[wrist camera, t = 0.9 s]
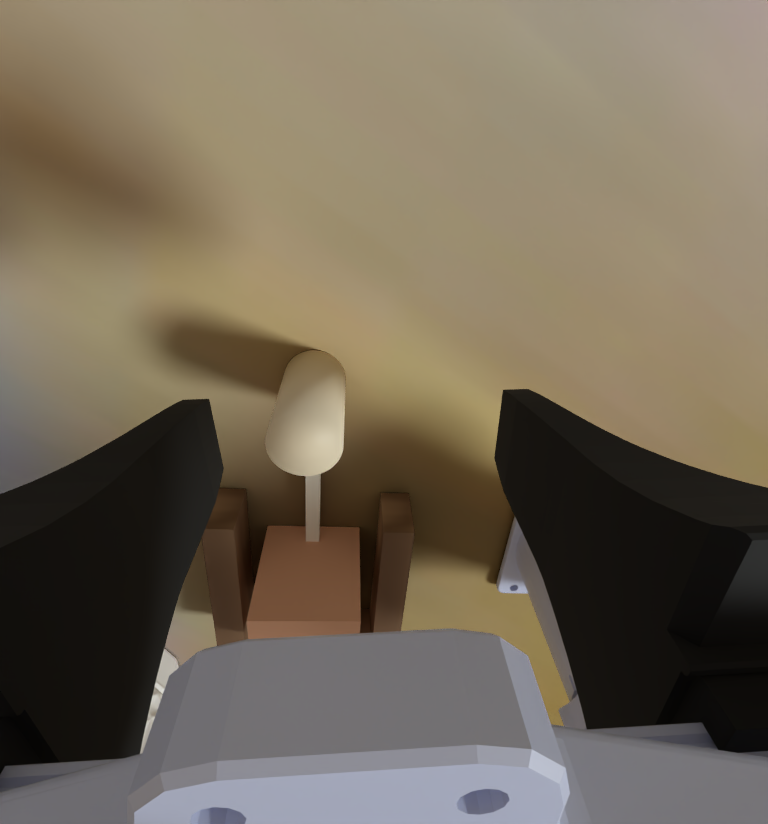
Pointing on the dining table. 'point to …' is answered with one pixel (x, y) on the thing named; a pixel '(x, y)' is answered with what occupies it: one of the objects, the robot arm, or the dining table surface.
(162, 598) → the robot arm
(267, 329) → the dining table surface
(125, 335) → the dining table surface
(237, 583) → the wooden u-shaped frame
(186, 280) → the dining table surface
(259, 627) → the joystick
